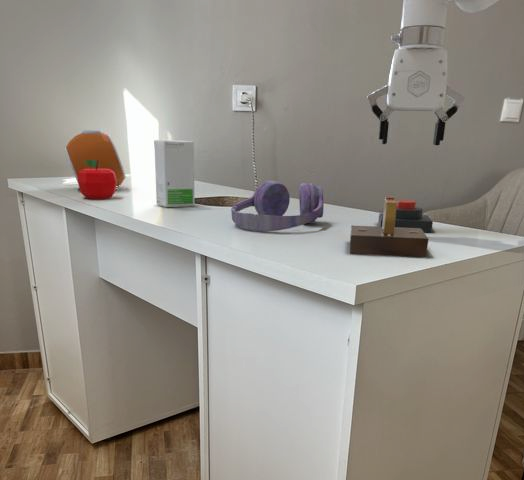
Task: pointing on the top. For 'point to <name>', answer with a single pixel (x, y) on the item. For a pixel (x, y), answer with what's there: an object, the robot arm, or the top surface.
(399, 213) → the block
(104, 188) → the apple
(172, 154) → the cosmetic box
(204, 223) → the top surface
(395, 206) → the lock knob
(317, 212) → the headphones
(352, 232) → the plate
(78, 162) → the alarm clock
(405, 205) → the bell button
